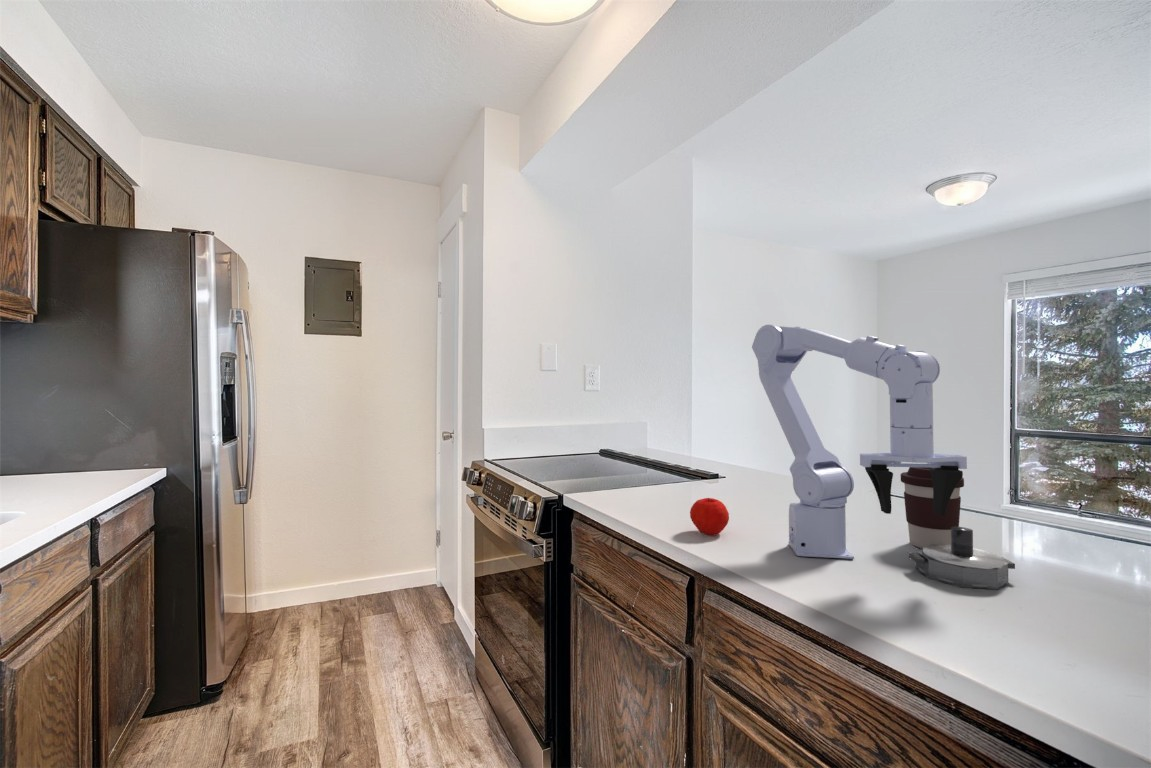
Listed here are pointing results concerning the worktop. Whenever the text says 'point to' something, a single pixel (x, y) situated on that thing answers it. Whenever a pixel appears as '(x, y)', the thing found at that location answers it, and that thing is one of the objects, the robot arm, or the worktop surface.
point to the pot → (962, 573)
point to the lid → (963, 552)
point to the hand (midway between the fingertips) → (912, 513)
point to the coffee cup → (928, 509)
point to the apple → (709, 516)
